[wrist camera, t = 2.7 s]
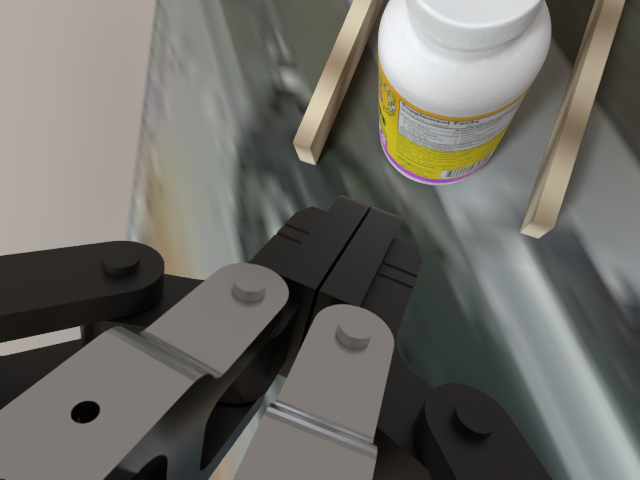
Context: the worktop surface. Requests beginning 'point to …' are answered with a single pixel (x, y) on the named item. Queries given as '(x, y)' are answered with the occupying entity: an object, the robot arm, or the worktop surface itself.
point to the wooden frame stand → (564, 132)
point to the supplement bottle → (454, 80)
